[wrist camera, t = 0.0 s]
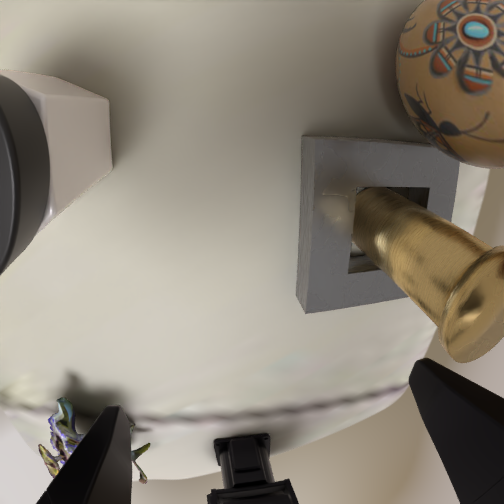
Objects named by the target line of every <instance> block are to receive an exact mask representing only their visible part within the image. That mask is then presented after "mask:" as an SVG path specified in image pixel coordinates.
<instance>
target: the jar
mask: <svg viewBox="0 0 504 504" xmlns="http://www.w3.org/2000/svg"><path fill="white" fill-rule="evenodd" d="M112 169H113V166H112V152H111V135H110V107H109V100H108V99H106V98H104V97H102V96H100V95H97V94H95V93H93V92H90V91H88V90H86V89H83V88H81V87H79V86H76V85H74V84H71V83H69V82H66V81H64V80H62V79H59V78H57V77H53V76H47V75H41V74H34V73H28V72H21V71H13V70H5V69H0V275H1V274H2V273H3V272H4V271H5V270H6V269H7V267H8V266H9V265H10V264H11V263H12V262H13V261H14V260H15V259H16V258H17V257H18V256H19V255H20V254H21V253H22V252H23V251H24V250H25V249H26V248H27V246H28V245H29V244H30V243H31V241H32V240H33V238H34V236H36V235H37V234H38V233H39V232H40V231H41V230H42V229H43V228H44V227H45V226H47V225H48V224H49V223H50V222H51V221H52V220H53V219H54V218H56V217H57V216H58V215H59V214H60V213H61V212H62V211H64V210H65V209H66V208H67V207H68V206H69V205H70V204H72V203H73V202H74V201H75V200H76V199H78V198H79V197H80V196H81V195H82V194H84V193H85V192H86V191H87V190H88V189H90V188H91V187H92V186H93V185H95V184H96V183H97V182H98V181H100V180H101V179H102V178H104V177H105V176H106V175H107V174H109V173H110V172H111V171H112Z"/></svg>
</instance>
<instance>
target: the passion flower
mask: <svg viewBox="0 0 504 504" xmlns="http://www.w3.org/2000/svg"><path fill="white" fill-rule="evenodd" d="M57 402H58V409H59V412H58V413H55V414H53V415H52V416H51V417H50V418H49V419H48V422H49V423H50V425H51V426H50V429H51V430H52V431H53V432H51V435H52V437H51V439H50V442H51V444H52V446H53V448H54V449H56V450H57V451H58V455H59V456H56V457H54V456H52V455H51V453H50V452H49V451H48V450H46V449H45V447H43V446H42V445H41V444H39V445H38V446H39V452H40V454H41V456H42V458H43V459H44V462H45V465H46V466H47V468H48V470H49V473H50V474H51V476H53V478H55V476H56V475H57V473H58V472H59V469H60V468H59V465H58V463H57V462H58V461H59V460H60V462H61V463H62V464H63V465H64V464H65V462H66V461H67V459H68V458H69V456H70V455H71V454H72V452H73V451H74V450H75V448H76V447H77V445H78V444H79V443H80V441H81V440H82V438H83V437H84V436H85V434H77V432H76V430H75V412H74V409H73V406H72V403H71V402H70V401H69V400H67V399H66V398H60V399H57ZM134 426H135V424H134V425H132V426H131V427H130V435H131V434H132V430H133V428H134ZM149 447H150V443H148V444H146V445H144V446H143V447H141V448H139V449H137V450H133V451H131V458H132V461H133V463H134V464H135V466H136V467H137V469H138V470H139V471H140V479H139V481H140V482H141V483H143V484H144V483H145V484H146V483H147V477H146V475H145V474H144V473H143V471H142V470H141V468H140V467H139V466H138V465H137V464H136V462H135V460H136V459H137V458H138V457H139V456H140V455H141V454H142V453H143V452H145V451H146V450H148V448H149ZM144 478H145V479H146V480H145V479H144Z"/></svg>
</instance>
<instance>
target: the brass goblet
mask: <svg viewBox="0 0 504 504" xmlns="http://www.w3.org/2000/svg"><path fill="white" fill-rule="evenodd" d="M352 242H353V243H354V244H355V245H356V246H357V247H358V248H359V249H360V250H361V251H363V252H364V253H365V254H366V255H367V256H368V257H369V258H370V259H371V260H372V261H373V262H374V263H375V264H376V265H377V266H378V267H379V268H380V269H381V270H382V271H383V272H385V273H386V274H387V275H388V276H389V277H390V278H391V279H392V280H393V281H394V282H395V283H396V284H397V285H398V286H399V287H400V288H401V289H402V290H403V291H404V292H405V293H406V294H407V295H408V296H409V297H410V298H411V299H412V300H413V301H414V302H415V303H416V304H417V305H418V306H419V308H420V309H421V310H422V311H423V312H424V313H425V314H426V315H427V316H428V317H429V318H430V319H431V320H432V321H433V322H434V323H435V324H436V325H437V326H438V327H439V331H438V335H439V341H440V344H441V345H442V347H443V348H444V349H445V350H446V351H447V353H448V354H449V355H450V356H451V357H452V358H453V359H454V360H455V361H456V362H459V363H467V362H471V361H473V360H476V359H478V358H479V357H481V356H483V355H484V354H486V353H487V352H488V351H490V350H491V349H492V348H493V347H494V346H495V345H496V344H497V343H498V342H499V341H500V340H501V339H502V338H503V337H504V246H497V247H494V248H492V247H490V246H489V245H487V244H486V243H484V242H482V241H481V240H479V239H478V238H476V237H474V236H473V235H471V234H469V233H468V232H466V231H464V230H463V229H461V228H459V227H458V226H456V225H454V224H453V223H451V222H449V221H447V220H446V219H444V218H442V217H440V216H439V215H437V214H435V213H433V212H431V211H429V210H428V209H426V208H424V207H422V206H420V205H418V204H417V203H415V202H413V201H411V200H409V199H407V198H405V197H403V196H401V195H399V194H397V193H395V192H393V191H391V190H389V189H387V188H385V187H369V188H366V189H364V190H363V191H361V192H360V193H359V194H357V195H356V202H355V213H354V223H353V233H352Z"/></svg>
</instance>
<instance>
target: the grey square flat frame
mask: <svg viewBox="0 0 504 504" xmlns="http://www.w3.org/2000/svg"><path fill="white" fill-rule="evenodd" d="M459 163H460V161H457V160H455V159H453V158H451V157H449V156H447V155H446V154H444V153H442V152H441V151H440V150H438V149H437V148H436V147H434V146H433V145H431V144H423V143H414V142H404V141H394V140H382V139H368V138H351V137H328V136H302V161H301V201H300V228H299V250H298V270H297V287H296V296H297V298H298V300H299V302H300V304H301V306H302V308H303V310H304V312H305V314H308V313H315V312H322V311H329V310H335V309H342V308H348V307H354V306H360V305H366V304H372V303H378V302H383V301H389V300H394V299H400V298H405V297H409V296H408V295H407V294H406V293H405V292H404V291H403V290H402V289H401V288H400V287H399V286H398V285H397V284H396V283H395V282H394V281H393V280H392V279H391V278H390V277H389V276H388V275H387V274H386V273H385V272H383V271H382V270H381V269H380V268H379V267H378V266H377V265H376V264H375V263H374V262H373V261H372V260H371V259H370V258H369V257H368V256H367V255H365V256H355V257H350V251H351V242H352V233H353V223H354V213H355V202H356V190H357V187H410V189H409V197H408V199H409V200H411V201H413V202H415V203H417V204H418V205H420V206H422V207H424V208H426V209H428V210H429V211H431V212H433V213H435V214H437V215H439V216H440V217H442V218H444V219H446V220H447V221H449V222H451V218H452V212H453V207H454V201H455V194H456V187H457V180H458V172H459Z"/></svg>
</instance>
